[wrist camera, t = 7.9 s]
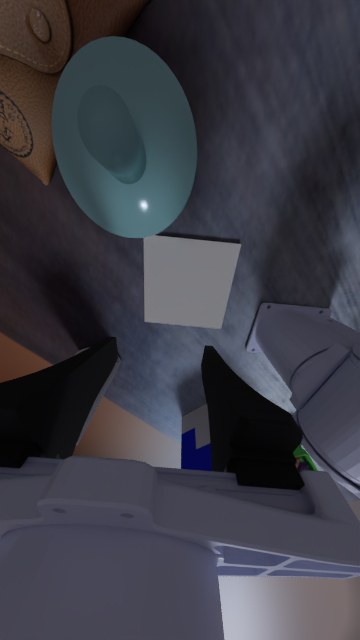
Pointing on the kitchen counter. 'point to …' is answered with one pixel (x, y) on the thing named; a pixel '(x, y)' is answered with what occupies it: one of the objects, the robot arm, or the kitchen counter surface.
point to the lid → (124, 137)
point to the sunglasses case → (46, 66)
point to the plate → (187, 280)
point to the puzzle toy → (196, 440)
